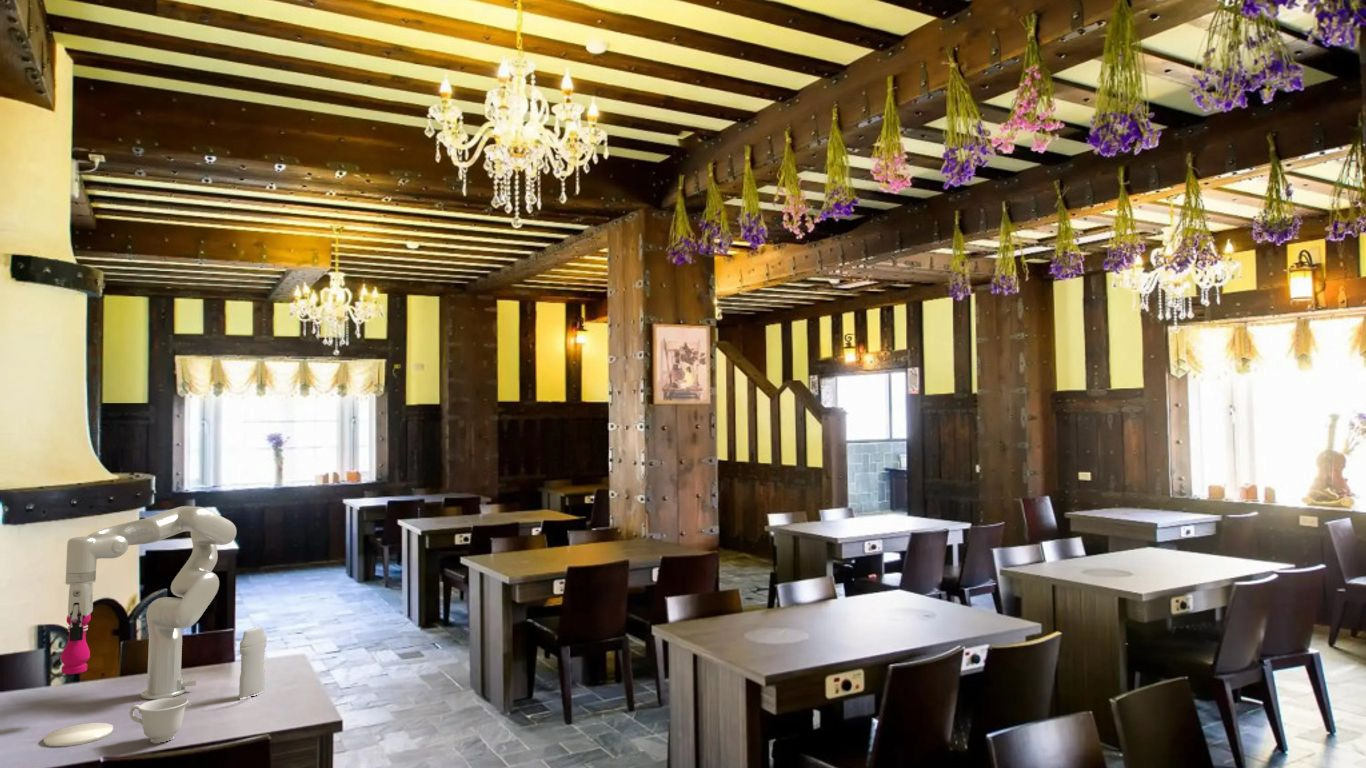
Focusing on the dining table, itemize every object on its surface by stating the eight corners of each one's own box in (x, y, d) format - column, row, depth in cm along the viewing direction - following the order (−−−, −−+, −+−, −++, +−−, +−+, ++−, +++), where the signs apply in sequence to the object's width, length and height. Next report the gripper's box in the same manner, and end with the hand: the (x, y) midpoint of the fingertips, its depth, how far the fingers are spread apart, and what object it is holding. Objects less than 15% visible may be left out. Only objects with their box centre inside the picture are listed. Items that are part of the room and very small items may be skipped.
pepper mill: (72, 675, 250) (78, 606, 252) (53, 673, 252) (59, 605, 253) (94, 669, 257) (100, 603, 259) (75, 667, 259) (81, 601, 260)
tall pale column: (243, 701, 272) (245, 631, 273) (233, 699, 273) (235, 630, 275) (269, 691, 282) (271, 625, 283) (259, 690, 283) (261, 624, 285)
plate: (116, 723, 250) (116, 719, 250) (108, 740, 236) (108, 736, 236) (50, 732, 243) (50, 728, 243) (37, 750, 229) (38, 746, 229)
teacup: (141, 733, 242) (142, 698, 242) (195, 731, 243) (196, 696, 244) (116, 748, 230) (117, 711, 230) (173, 746, 231) (174, 709, 232)
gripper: (90, 581, 250) (87, 643, 249) (100, 573, 266) (98, 631, 264) (59, 583, 247) (56, 646, 246) (71, 575, 262) (68, 634, 261)
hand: (78, 638), depth 255 cm, fingers closed on pepper mill, 5 cm apart
